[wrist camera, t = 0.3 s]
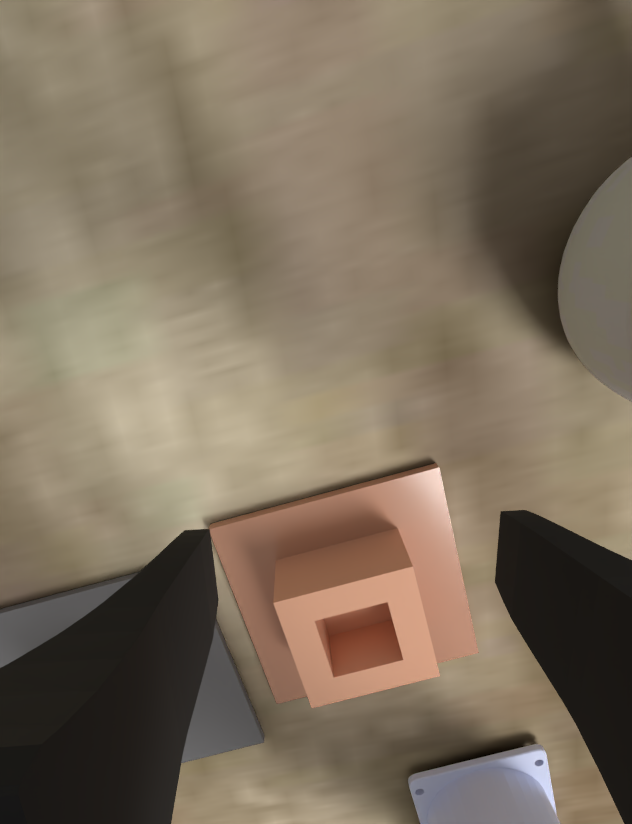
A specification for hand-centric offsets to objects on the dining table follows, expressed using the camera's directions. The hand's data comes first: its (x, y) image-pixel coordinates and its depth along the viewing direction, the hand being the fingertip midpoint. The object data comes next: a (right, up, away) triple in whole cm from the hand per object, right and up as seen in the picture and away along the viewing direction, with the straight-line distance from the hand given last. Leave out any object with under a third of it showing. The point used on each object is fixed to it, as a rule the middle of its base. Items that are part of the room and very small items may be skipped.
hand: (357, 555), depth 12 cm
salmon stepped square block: (+1, -5, +12) cm, 13 cm away
